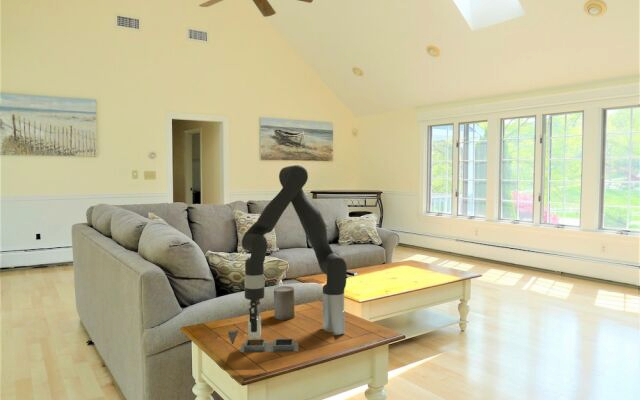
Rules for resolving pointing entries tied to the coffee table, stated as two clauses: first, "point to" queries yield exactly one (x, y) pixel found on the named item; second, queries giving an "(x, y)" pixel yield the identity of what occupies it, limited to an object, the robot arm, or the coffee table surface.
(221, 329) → the coffee table surface
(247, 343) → the block holder
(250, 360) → the coffee table surface
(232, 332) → the smartphone
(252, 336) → the metal block with knob
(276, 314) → the pillar candle
